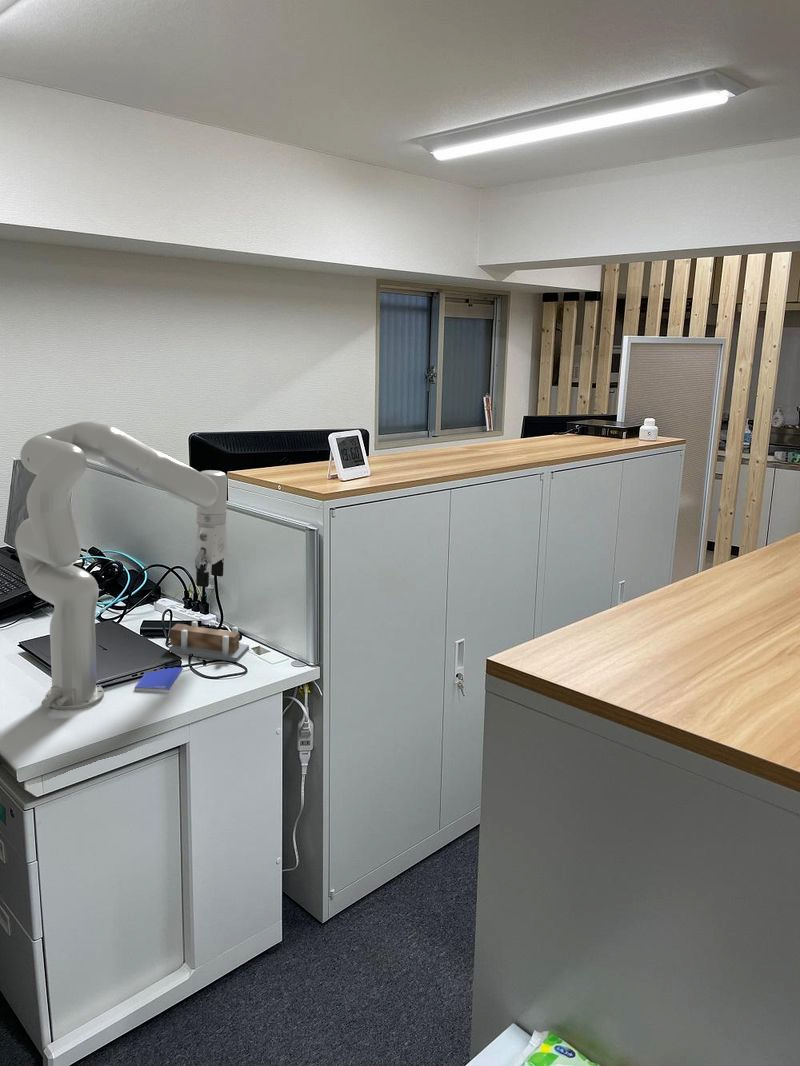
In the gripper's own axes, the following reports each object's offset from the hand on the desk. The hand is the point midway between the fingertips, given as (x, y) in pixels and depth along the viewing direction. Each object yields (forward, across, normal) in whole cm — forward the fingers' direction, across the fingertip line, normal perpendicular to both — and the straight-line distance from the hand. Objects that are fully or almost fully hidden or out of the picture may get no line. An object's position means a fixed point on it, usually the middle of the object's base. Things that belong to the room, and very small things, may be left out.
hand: (210, 580), depth 209 cm
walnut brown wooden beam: (+19, 0, +1) cm, 19 cm away
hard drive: (+21, -20, +4) cm, 30 cm away
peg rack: (+20, 0, 0) cm, 20 cm away
